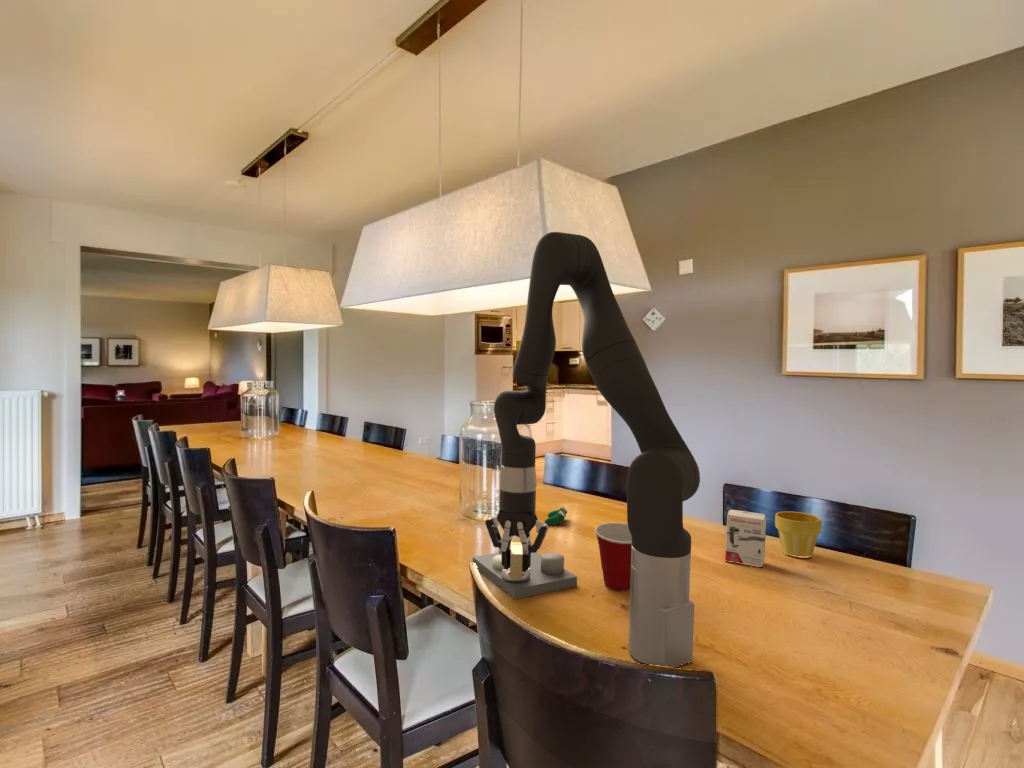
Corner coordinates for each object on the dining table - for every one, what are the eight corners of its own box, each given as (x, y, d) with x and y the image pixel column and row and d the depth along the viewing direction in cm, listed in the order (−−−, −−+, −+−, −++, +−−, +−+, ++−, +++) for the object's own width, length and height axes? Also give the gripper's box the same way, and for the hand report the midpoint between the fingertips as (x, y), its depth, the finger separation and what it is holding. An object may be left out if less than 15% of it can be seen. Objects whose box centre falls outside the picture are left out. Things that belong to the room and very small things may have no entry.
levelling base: (576, 585, 114) (577, 562, 114) (514, 599, 107) (515, 574, 107) (528, 555, 132) (529, 535, 131) (472, 565, 124) (472, 543, 124)
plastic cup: (606, 599, 108) (608, 539, 107) (584, 578, 118) (586, 524, 118) (655, 594, 111) (656, 536, 110) (629, 574, 121) (631, 521, 121)
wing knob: (530, 583, 109) (531, 554, 109) (500, 583, 109) (501, 553, 109) (529, 570, 116) (530, 542, 116) (501, 569, 116) (502, 542, 116)
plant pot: (764, 549, 140) (766, 511, 140) (797, 546, 143) (798, 509, 143) (795, 563, 130) (797, 523, 130) (830, 560, 133) (831, 520, 133)
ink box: (724, 562, 130) (725, 513, 130) (726, 556, 134) (728, 509, 134) (763, 569, 126) (765, 519, 126) (764, 562, 130) (766, 514, 130)
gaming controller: (551, 532, 157) (566, 519, 156) (542, 522, 157) (557, 509, 156) (555, 523, 166) (570, 511, 165) (547, 514, 166) (561, 501, 165)
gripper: (479, 487, 111) (477, 570, 111) (545, 494, 106) (543, 581, 106) (492, 480, 118) (490, 559, 118) (555, 486, 113) (553, 568, 114)
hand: (516, 568), depth 112 cm, fingers closed on wing knob, 3 cm apart
